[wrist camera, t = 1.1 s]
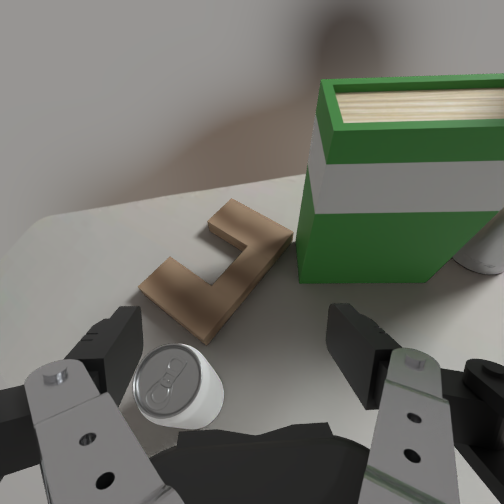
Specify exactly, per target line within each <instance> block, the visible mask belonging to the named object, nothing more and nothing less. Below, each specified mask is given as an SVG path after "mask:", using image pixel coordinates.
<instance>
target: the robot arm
mask: <svg viewBox="0 0 504 504" xmlns="http://www.w3.org/2000/svg"><path fill="white" fill-rule="evenodd" d="M452 258H453V259H454V260H455V261H457V262H458V263H459V264H461V265H462V266H464V267H466V268H467V269H469V270H472V271H474V272H478V273H482V274H499V273H502V272H504V207H503V208H502V209H501V210H500V211H499V212H498V213H497V214H496V215H495V216H494V217H493V218H492V219H491V220H490V221H489V222H488V223H487V224H486V225H485V226H484V227H483V228H482V229H481V230H480V231H479V232H478V233H476V234H475V235H474V236H473V237H472V238H471V239H470V240H469V241H468V242H467V243H466V244H465V245H464V246H463V247H462V248H461V249H460V250H459V251H458V252H457V253H456V254H455V255H454V256H453V257H452ZM326 344H327V348H328V351H329V353H330V354H331V356H332V357H333V359H334V360H335V362H336V364H337V365H338V367H339V368H340V370H341V372H342V373H343V375H344V376H345V378H346V379H347V381H348V383H349V384H350V386H351V387H352V389H353V391H354V392H355V394H356V395H357V397H358V398H359V400H360V402H361V403H362V405H363V406H364V408H365V410H374V409H379V411H378V416H377V421H376V425H375V430H374V435H373V439H372V444H371V449H368V448H367V447H365V446H363V445H361V444H359V443H357V442H355V441H352V440H349V439H347V438H343V437H340V436H335V435H333V434H332V431H331V429H330V427H329V424H328V422H326V423H310V424H295V425H290V426H287V427H284V428H280V429H277V430H274V431H271V432H268V433H264V434H261V435H248V434H242V433H236V432H230V431H224V430H217V429H216V430H201V431H185V432H179V435H178V441H177V446H174V447H171V448H169V449H166V450H164V451H161V452H160V453H158V454H156V455H154V456H152V457H151V458H148V457H147V455H146V453H145V452H144V450H143V448H142V447H141V445H140V443H139V442H138V440H137V438H136V437H135V435H134V433H133V432H132V430H131V429H130V427H129V425H128V424H127V422H126V420H125V419H124V417H123V415H122V414H121V412H120V410H119V409H118V407H119V405H120V403H121V400H122V398H123V396H124V394H125V391H126V389H127V387H128V385H129V383H130V380H131V378H132V376H133V374H134V371H135V369H136V367H137V365H138V363H139V360H140V358H141V355H142V351H143V331H142V316H141V309H140V307H139V306H120V307H119V308H118V309H117V310H116V311H115V313H114V314H113V315H112V316H111V318H110V319H103V320H102V321H100V322H98V323H97V324H95V325H93V326H92V327H91V329H90V330H89V331H88V332H87V333H86V335H84V337H83V338H82V339H81V341H79V342H78V343H77V345H76V346H75V347H74V348H73V349H72V350H71V351H70V353H69V354H68V355H67V356H66V357H65V358H64V359H63V360H59V361H55V362H51V363H49V364H46V365H44V366H42V367H40V368H38V369H36V370H35V371H33V372H32V373H31V374H30V375H29V376H28V377H27V378H26V380H25V383H24V385H21V386H17V387H13V388H8V389H4V390H0V481H1V480H2V478H3V477H4V476H5V475H7V474H11V473H14V472H16V471H20V470H23V469H26V468H28V467H32V466H35V465H38V464H40V469H41V474H42V478H43V483H44V487H45V492H46V496H47V501H48V504H460V499H459V490H458V480H457V471H456V461H455V452H454V446H455V448H456V449H457V450H458V451H459V453H460V454H461V455H462V456H463V458H464V459H465V460H466V461H467V462H468V464H469V465H470V466H471V467H472V469H473V470H474V471H475V472H476V474H477V475H478V476H479V477H480V479H481V480H482V481H483V482H484V483H485V485H486V486H487V487H488V488H489V490H490V491H491V492H492V493H493V495H494V496H495V497H496V498H497V499H498V501H499V502H500V503H501V504H504V366H502V365H500V364H497V363H494V362H491V361H488V360H483V359H470V360H467V362H466V365H465V369H464V372H460V371H454V370H448V369H442V368H440V365H439V363H438V362H437V361H436V360H435V359H434V358H432V357H431V356H429V355H428V354H426V353H423V352H421V351H418V350H415V349H410V348H402V347H401V346H400V345H399V344H398V343H397V342H396V341H395V340H394V339H392V338H391V337H390V336H389V335H388V334H387V333H385V331H384V330H383V329H382V328H379V326H378V325H377V324H376V323H375V322H374V321H373V320H372V319H370V318H368V317H366V316H364V315H362V314H359V313H358V312H357V311H356V310H355V309H354V308H353V307H352V306H351V305H350V304H348V303H344V304H331V305H330V307H329V312H328V322H327V331H326Z"/></svg>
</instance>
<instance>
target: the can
mask: <svg viewBox="0 0 504 504" xmlns="http://www.w3.org/2000/svg"><path fill="white" fill-rule="evenodd" d="M132 390H133V397H134V400H135V402H136V404H137V406H138V408H139V410H140V412H141V413H142V414H143V415H144V417H146V418H147V419H148V420H149V421H151V422H153V423H155V424H158V425H161V426H167V427H174V428H183V429H199V428H202V427H205V426H207V425H208V424H210V423H211V422H212V421H213V420H214V419H215V418H216V417H217V415H218V414H219V412H220V410H221V408H222V405H223V401H224V389H223V385H222V382H221V380H220V378H219V376H218V375H217V373H216V372H215V371H214V369H213V368H212V367H211V365H210V364H209V362H208V361H207V360H206V359H205V357H204V356H203V355H202V354H201V353H200V352H199V351H198V350H196V349H195V348H193V347H191V346H189V345H185V344H176V343H170V344H165V345H161V346H159V347H157V348H155V349H153V350H152V351H151V352H149V353H148V354H147V355H146V356H145V357H144V358H143V359H142V361H141V362H140V364H139V365H138V367H137V369H136V371H135V374H134V378H133V384H132Z"/></svg>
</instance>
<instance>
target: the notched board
mask: <svg viewBox="0 0 504 504" xmlns="http://www.w3.org/2000/svg"><path fill="white" fill-rule="evenodd" d="M207 222H208V226H209V230H210V232H212V233H214V234H215V235H217V236H219V237H220V238H222V239H223V240H225V241H227V242H228V243H230V244H231V245H233V246H235V247H236V248H238V249H239V250H241V251H243V252H242V253H241V254H240V255H239V256H238V257H237V259H236V260H235V261H234V262H233V263H232V264H231V265H230V266H229V267H228V268H227V269H226V271H225V272H224V273H223V274H222V275H221V276H220V277H219V278H218V279H217V280H216V282H215V283H214V284H213V285H212V286H211V285H209V284H208V283H207V282H205V281H204V280H202V279H201V278H200V277H198V276H197V275H195V274H194V273H193V272H191V271H190V270H188V269H187V268H186V267H184V266H183V265H181V264H180V263H179V262H177V261H176V260H174V259H173V258H172V257H169V258H168V259H167V260H166V261H165V262H164V263H163V264H161V265H160V266H159V267H158V268H157V269H156V270H155V271H154V272H153V273H152V274H151V275H150V276H149V277H148V278H147V279H146V280H144V281H143V282H142V283H141V284H140V285H139V286H138V288H139V289H140V290H141V291H142V293H143V294H144V295H145V296H146V297H148V298H149V299H150V300H151V301H153V302H154V303H155V304H156V305H157V306H159V307H160V308H161V309H162V310H164V311H165V312H166V313H167V314H168V315H170V316H171V317H172V318H173V319H175V320H176V321H177V322H178V323H179V324H181V325H182V326H183V327H184V328H186V329H187V330H188V331H189V332H190V333H192V334H193V335H194V336H195V337H196V338H198V339H199V340H200V341H201V342H203V343H204V344H205V345H206V346H207V345H208V344H209V342H210V341H211V340H212V339H213V338H214V336H215V335H216V334H217V333H218V331H219V330H220V329H221V328H222V327H223V325H224V324H225V323H226V322H227V321H228V319H229V318H230V317H231V316H232V314H233V313H234V312H235V311H236V310H237V308H238V307H239V306H240V305H241V303H242V302H243V301H244V300H245V299H246V297H247V296H248V295H249V294H250V292H251V291H252V290H253V289H254V288H255V286H256V285H257V284H258V283H259V282H260V280H261V279H262V278H263V277H264V275H265V274H266V273H267V272H268V271H269V269H270V268H271V267H272V266H273V264H274V263H275V262H276V261H277V260H278V258H279V257H280V256H281V255H282V254H283V252H284V251H285V250H286V249H287V247H288V246H289V245H290V244H291V243H292V240H293V231H291V230H289V229H287V228H285V227H284V226H282V225H280V224H278V223H276V222H274V221H273V220H271V219H269V218H267V217H265V216H263V215H261V214H260V213H258V212H256V211H254V210H252V209H250V208H249V207H247V206H245V205H243V204H241V203H239V202H238V201H236V200H234V199H232V198H231V199H230V200H229V201H228V202H227V203H226V204H225V205H224V206H223V207H222V208H221V209H220V210H219V211H218V212H217V213H216V214H214V215H213V216H212V217H211V218H210V219H209V220H208V221H207Z"/></svg>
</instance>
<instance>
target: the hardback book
mask: <svg viewBox="0 0 504 504" xmlns="http://www.w3.org/2000/svg"><path fill="white" fill-rule="evenodd" d="M503 207H504V74H503V73H502V74H474V75H473V74H471V75H443V76H442V75H441V76H412V77H381V78H351V79H321V83H320V89H319V96H318V102H317V108H316V114H315V121H314V127H313V133H312V140H311V146H310V152H309V159H308V165H307V172H306V178H305V184H304V190H303V197H302V203H301V209H300V216H299V222H298V228H297V235H296V241H295V242H296V253H297V264H298V275H299V284H316V283H426V282H427V281H428V280H429V279H430V278H431V277H432V276H433V275H434V274H435V273H436V272H437V271H438V270H439V269H440V268H441V267H442V266H443V265H444V264H445V263H446V262H448V261H449V260H450V259H451V258H452V257H453V256H454V255H455V254H456V253H457V252H458V251H459V250H460V249H461V248H462V247H463V246H464V245H465V244H466V243H467V242H468V241H469V240H470V239H471V238H472V237H473V236H474V235H475V234H476V233H478V232H479V231H480V230H481V229H482V228H483V227H484V226H485V225H486V224H487V223H488V222H489V221H490V220H491V219H492V218H493V217H494V216H495V215H496V214H497V213H498V212H499V211H500V210H501V209H502V208H503Z"/></svg>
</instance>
